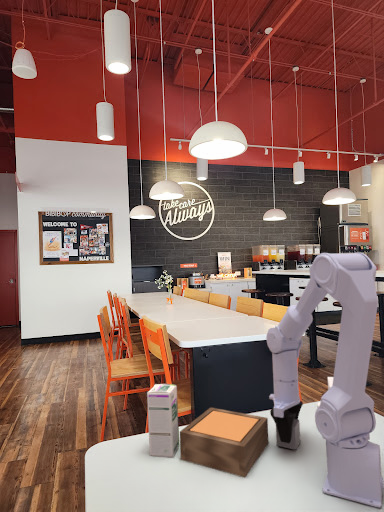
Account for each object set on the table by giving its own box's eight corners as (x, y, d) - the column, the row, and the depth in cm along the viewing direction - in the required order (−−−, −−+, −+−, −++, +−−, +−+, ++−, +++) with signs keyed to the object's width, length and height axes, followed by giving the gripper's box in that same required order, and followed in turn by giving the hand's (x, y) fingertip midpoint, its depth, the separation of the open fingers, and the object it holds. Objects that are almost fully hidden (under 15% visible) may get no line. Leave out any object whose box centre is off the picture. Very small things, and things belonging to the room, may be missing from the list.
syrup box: (173, 458, 78) (171, 392, 78) (148, 456, 79) (146, 391, 80) (179, 445, 83) (177, 383, 84) (156, 443, 85) (154, 383, 85)
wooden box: (268, 443, 83) (267, 417, 83) (245, 477, 70) (244, 446, 70) (211, 430, 90) (210, 407, 91) (180, 459, 77) (179, 431, 77)
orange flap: (258, 423, 82) (258, 419, 82) (239, 446, 72) (239, 441, 72) (213, 414, 88) (213, 410, 88) (189, 434, 78) (189, 430, 78)
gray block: (300, 441, 83) (299, 419, 83) (295, 449, 79) (294, 427, 79) (281, 437, 85) (280, 416, 85) (276, 445, 81) (275, 423, 81)
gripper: (277, 368, 91) (280, 421, 90) (259, 385, 78) (261, 447, 78) (305, 371, 87) (308, 427, 87) (290, 389, 75) (293, 454, 74)
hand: (288, 437), depth 82 cm, fingers closed on gray block, 4 cm apart
